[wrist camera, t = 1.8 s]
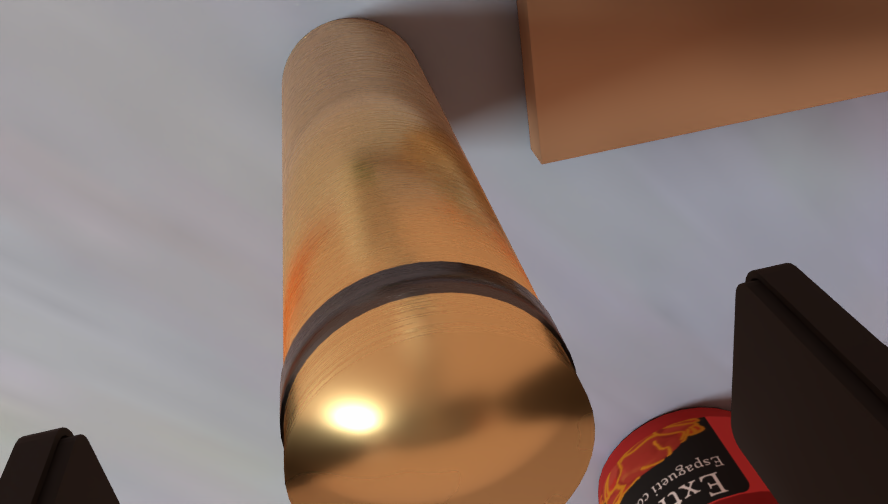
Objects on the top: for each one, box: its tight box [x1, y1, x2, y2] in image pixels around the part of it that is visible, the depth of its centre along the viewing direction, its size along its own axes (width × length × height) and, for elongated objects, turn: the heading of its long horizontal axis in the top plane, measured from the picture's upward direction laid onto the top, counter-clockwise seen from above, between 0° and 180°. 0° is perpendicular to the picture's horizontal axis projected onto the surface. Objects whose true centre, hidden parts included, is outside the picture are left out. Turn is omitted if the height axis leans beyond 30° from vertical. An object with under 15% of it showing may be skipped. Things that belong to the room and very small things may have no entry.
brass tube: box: [280, 18, 595, 504], centre depth 17 cm, size 4×4×15 cm
